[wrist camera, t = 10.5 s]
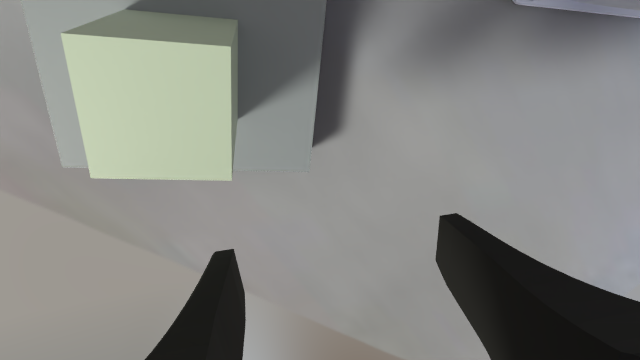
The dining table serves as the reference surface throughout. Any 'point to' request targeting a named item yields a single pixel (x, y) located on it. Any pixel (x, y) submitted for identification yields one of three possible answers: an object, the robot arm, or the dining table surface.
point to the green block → (156, 94)
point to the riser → (253, 72)
